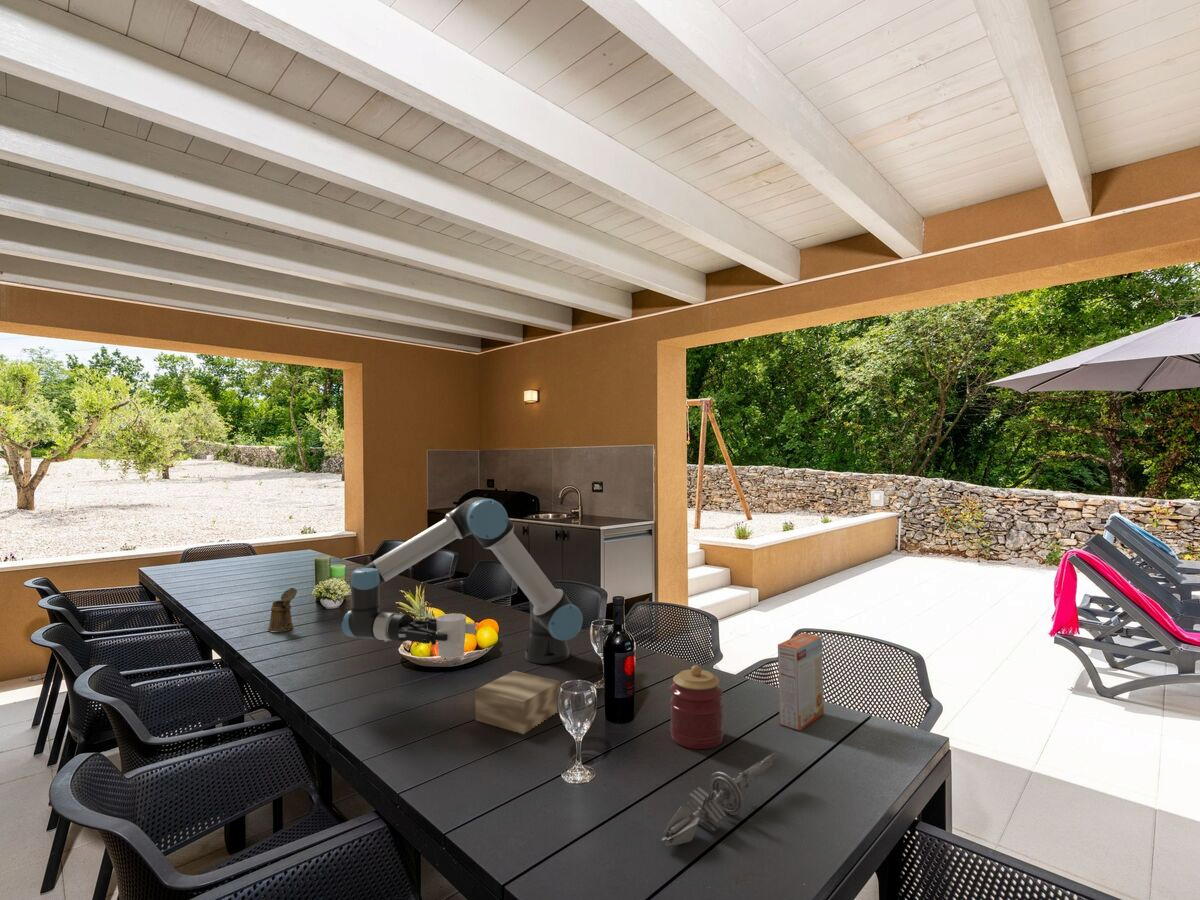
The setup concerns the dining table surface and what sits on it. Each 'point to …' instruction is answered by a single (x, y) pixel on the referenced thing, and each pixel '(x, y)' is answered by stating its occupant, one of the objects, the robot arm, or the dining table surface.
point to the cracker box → (800, 681)
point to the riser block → (516, 701)
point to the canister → (696, 709)
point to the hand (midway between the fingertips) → (467, 633)
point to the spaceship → (713, 802)
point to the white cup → (456, 625)
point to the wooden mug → (282, 612)
